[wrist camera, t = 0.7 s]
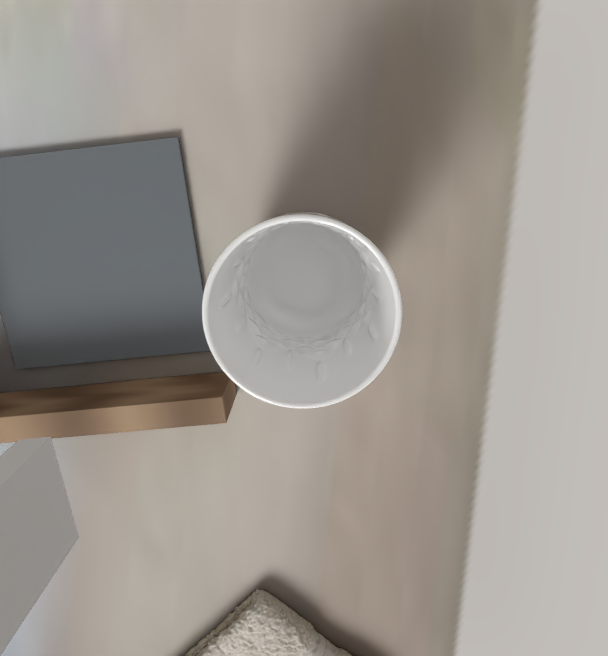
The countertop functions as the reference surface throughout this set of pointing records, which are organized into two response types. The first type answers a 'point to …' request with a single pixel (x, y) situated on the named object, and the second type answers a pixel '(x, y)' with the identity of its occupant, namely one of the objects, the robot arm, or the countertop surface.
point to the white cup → (302, 310)
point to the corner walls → (116, 407)
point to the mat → (98, 255)
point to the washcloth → (265, 632)
